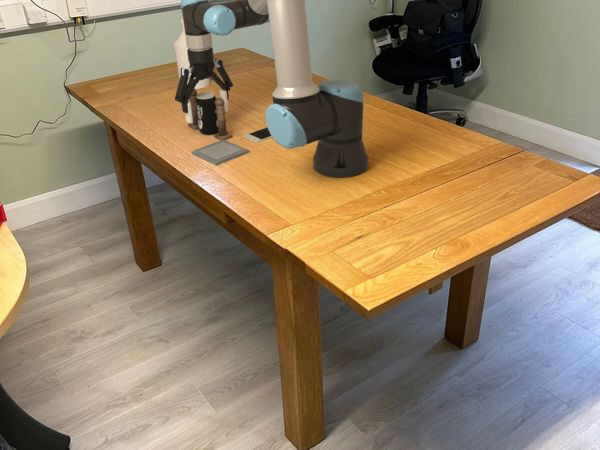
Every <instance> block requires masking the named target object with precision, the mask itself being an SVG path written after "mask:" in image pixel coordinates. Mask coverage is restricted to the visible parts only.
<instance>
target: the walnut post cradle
mask: <svg viewBox="0 0 600 450" xmlns="http://www.w3.org/2000/svg"><path fill="white" fill-rule="evenodd" d="M196 95H198V91H197V89H194V90H193V92H192V94H191V96H190V98H189V102H191V110H192V118H193V123H189V122H188V124H187V125H188V126H187V127H188V128H190V129H193V130H199V125H198V117H197V110H196V102H195V101H196V98H197V97H196ZM215 105H216V111H217V120H218V129H219V132H218V133H216V134H213V137H214V138H215V139H217V140H218V141H221V140H229V139H232V138H233V133H230V132H228V130H227V120H226V111H224V100H223V99H222V98H220V97H216V100H215Z"/></svg>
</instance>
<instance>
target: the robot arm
mask: <svg viewBox="0 0 600 450" xmlns="http://www.w3.org/2000/svg"><path fill="white" fill-rule="evenodd" d="M180 1H181V4H180V5H181V6H180V8H181V13H182V18H183V22H184V29H185V36H186V44H187V47H188V50H187V53H188V61H189V63H190V67H189V68H181V76H180V79H179V81H178V84H177V89H176V91H175V92H176V93H175V96H174V101H176V102H178V103H181V109H182V113H184V116H185V122H186V123H188V124H189V123H193V118H192V110H191V102H190V96H191V94H192V92H193V90H194V88H195V86H196V84H197V83H198V82H199V80H204V79H208V78H209V79H212V80H213V82H215V84H216V85H218V87H219V88H220V89H219V98H222V99H223V100H224V111H225V113H226V112H229V103H228V101H229V99H230V96H229V92H230V91H231V88H233V86H234V83H233V82H232V80H231V78H230V76H229V74H228V72H227V71H226V69H225V67H224V62H223V60H221V59H218V58H215V57H214V49H213V38H212V35H216V36H222V37H224V36H227V35H230V34H231V33H232V32H233V31H235V30H240V29H243V28H249V27H254V26H262V25H265V24H266V23H269V28H270V35H271V44H272V52H273V59H274V68H275V77H276V78H275V79H276V85H277V86H276V88H275V89H274V91H273V92H272V94H271V95H272V101H273V103H271V104H270V105H269V106H268V107H267V108H266V111H265V114H264V115H265V117H264V118H265V123H266V127H268V130H269V132H270V134H271V136H272V138H273V139H274V141H275V142H276V143H277V144H278V145H279V146H281V147H282V148H283V149H288V150H291V149H292V150H293V149H296V148H302V147H305V146H307V145H310V144H311V143H315V142H317V144H316V147H315V152H314V154H313V157H312V168H313V170H315V172H316V173H318V174H321V175H322V176H326V177H331V178H348V177H349V178H350V177H351V178H352V177H356V176H358V175H361V174H363V173H364V172H366V171H367V170H368V168H369V156H368V154H367V152H366V147H365V143H364V141H363V125H364V124H363V123H364V120H363V119H364V103H365V101H364V91H363V88H362V87H361V86H360V85H359V84H357V83H355V82H352V81H346V80H339V79H338V80H337V79H329V80H328V79H327V80H321V81H319V82H318V84H315V83H314V81H313V72H312V62H311V61H312V60H311V59H312V58H311V51H310V40H309V32H308V20H307V10H306V0H232V1H231V0H230V1H224V2H223V1H222V2H220V3H212V2H209V0H180ZM214 68H215V69H216V71H217V72H218V74H219V76H220V77H219V76H218V74H217V73H216V72H215V71H214ZM190 73H191V75H190ZM189 75H190V77H189ZM194 77H195V79H194ZM188 79H189V82H188ZM187 83H188V84H187Z"/></svg>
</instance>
